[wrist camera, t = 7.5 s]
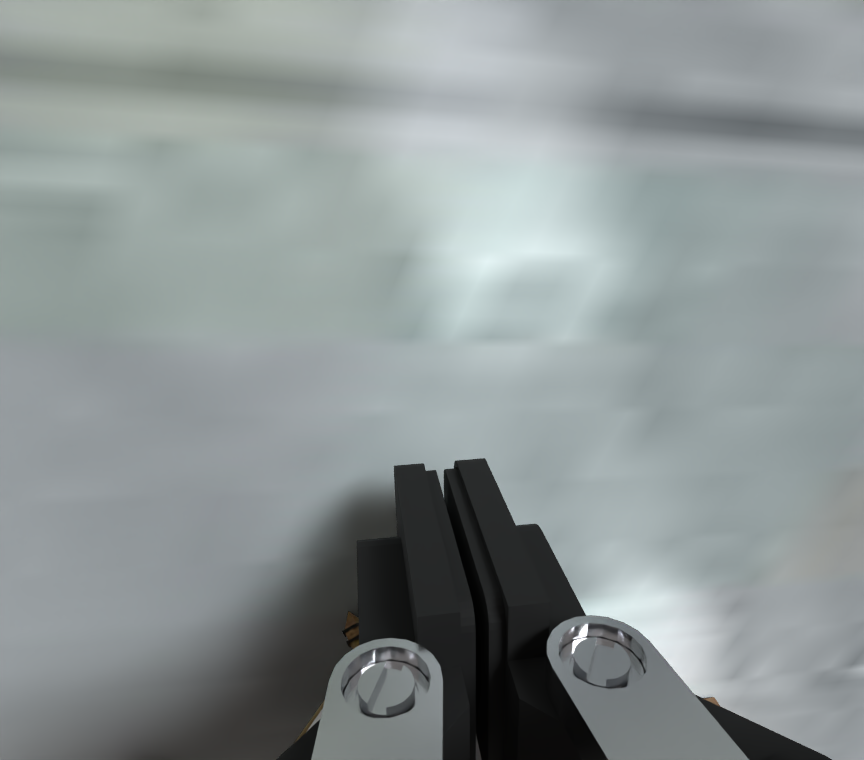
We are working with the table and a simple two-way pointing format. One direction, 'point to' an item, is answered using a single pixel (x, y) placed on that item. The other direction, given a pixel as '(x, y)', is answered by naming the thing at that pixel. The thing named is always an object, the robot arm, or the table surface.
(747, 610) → the table surface
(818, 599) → the table surface
